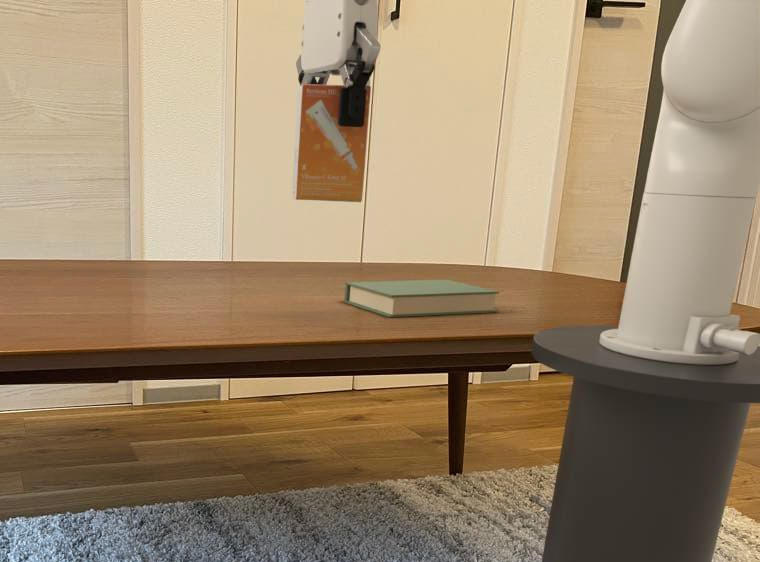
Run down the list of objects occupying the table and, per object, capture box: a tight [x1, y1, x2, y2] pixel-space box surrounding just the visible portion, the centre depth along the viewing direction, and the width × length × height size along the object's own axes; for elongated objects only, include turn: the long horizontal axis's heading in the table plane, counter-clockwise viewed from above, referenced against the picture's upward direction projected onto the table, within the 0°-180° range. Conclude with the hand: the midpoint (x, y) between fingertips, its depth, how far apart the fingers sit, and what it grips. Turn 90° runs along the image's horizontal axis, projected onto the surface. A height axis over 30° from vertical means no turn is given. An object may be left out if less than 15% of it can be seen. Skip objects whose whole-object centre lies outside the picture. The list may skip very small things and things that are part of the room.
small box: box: [291, 84, 372, 203], centre depth 93 cm, size 8×6×13 cm
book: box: [343, 278, 500, 318], centre depth 113 cm, size 12×18×3 cm, turn 112°
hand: (330, 127), depth 93 cm, fingers closed on small box, 8 cm apart
